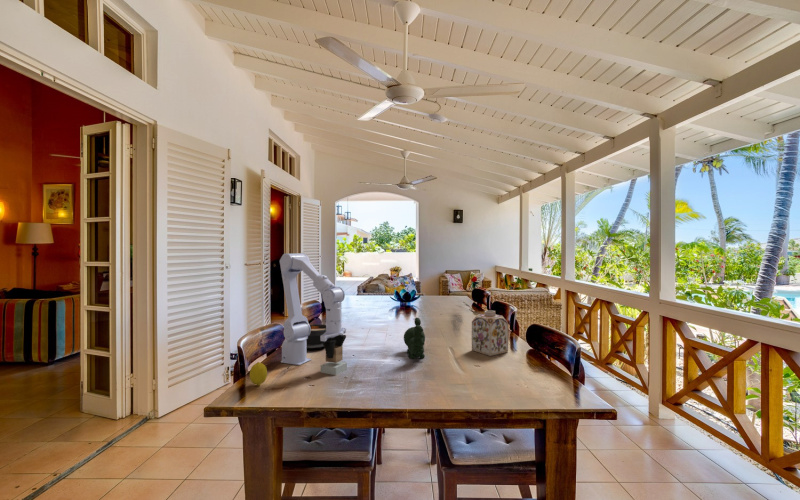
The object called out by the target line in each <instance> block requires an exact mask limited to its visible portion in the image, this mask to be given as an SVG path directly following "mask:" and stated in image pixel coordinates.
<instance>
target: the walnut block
mask: <svg viewBox="0 0 800 500" xmlns="http://www.w3.org/2000/svg"><path fill="white" fill-rule="evenodd" d="M343 350H344V349H343V345H342V346H335V347H334V355H333V358H327V354H326V353H325V363H327V362H333V363H337V362H342V361H343Z"/></svg>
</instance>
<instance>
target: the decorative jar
mask: <svg viewBox="0 0 800 500" xmlns="http://www.w3.org/2000/svg"><path fill="white" fill-rule="evenodd" d="M471 351H473V352H475V353H479V354H482V355H484V356H489V357H491V356H497V355H501V354H505V353H509V322H508V320H507V319H506V318H505V317H504V316H503V315H500V314H496V310H492V309H491V310H485V311H484V313H480V314H477V315H476V316H475V317H474V318H473V319H472V321H471Z"/></svg>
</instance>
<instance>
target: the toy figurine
mask: <svg viewBox="0 0 800 500" xmlns="http://www.w3.org/2000/svg"><path fill="white" fill-rule="evenodd" d="M421 322H422V321H421V319H420V318H419V317H415V318H414V326H411V327H409V328H408V329H406V331H405V332H404V333H403V341H404V344H405V346H406V347H407V349H406V353H407V356H408V358H409V359H412V360H416V358H419V359H421V360H422V359H423V360H424V359H425V348H424V346H425V342H426V334H425V332H424V329H423V327H422V325H421V324H422V323H421Z"/></svg>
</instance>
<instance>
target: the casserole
mask: <svg viewBox="0 0 800 500" xmlns="http://www.w3.org/2000/svg"><path fill="white" fill-rule="evenodd" d="M309 325H310V327H311V333H310V335H309V336H308V339H306V342H307V349H318V348H324V345H323V344H322V342H321V341H320V336H321V335H323V334H324V333H325V332H326V324H320V323H317V324H309Z"/></svg>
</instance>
